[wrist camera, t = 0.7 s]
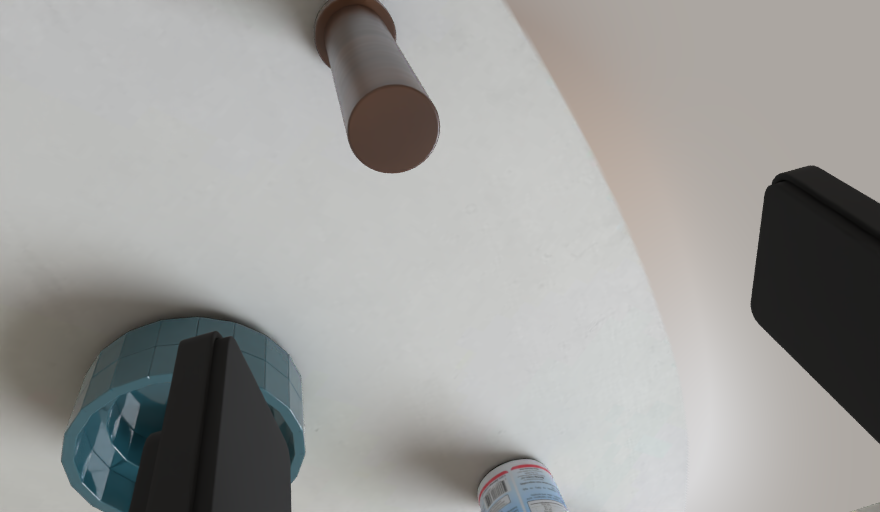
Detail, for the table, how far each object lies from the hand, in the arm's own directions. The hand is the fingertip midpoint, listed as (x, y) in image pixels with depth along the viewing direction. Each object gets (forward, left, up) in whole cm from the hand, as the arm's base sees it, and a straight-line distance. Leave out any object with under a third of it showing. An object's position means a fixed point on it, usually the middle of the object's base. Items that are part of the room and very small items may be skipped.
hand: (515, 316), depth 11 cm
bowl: (+11, -21, -22) cm, 32 cm away
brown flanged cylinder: (0, -1, -22) cm, 22 cm away
